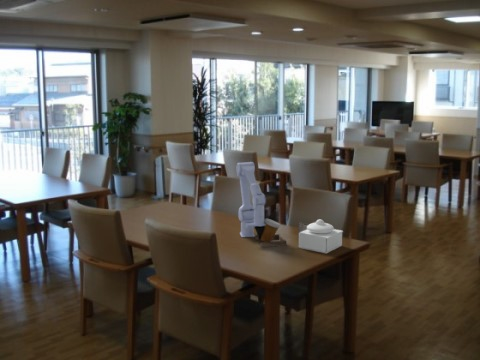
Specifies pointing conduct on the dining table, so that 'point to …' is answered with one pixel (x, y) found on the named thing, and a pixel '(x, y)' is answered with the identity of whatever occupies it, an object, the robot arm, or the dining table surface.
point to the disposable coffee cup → (269, 230)
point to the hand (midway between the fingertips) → (259, 239)
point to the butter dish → (320, 237)
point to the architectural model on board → (302, 227)
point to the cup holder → (274, 243)
